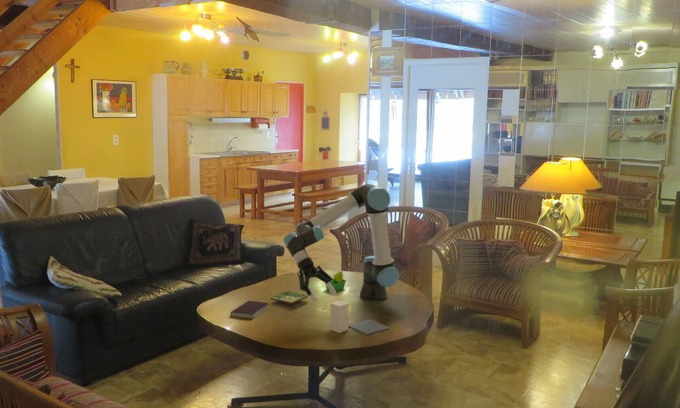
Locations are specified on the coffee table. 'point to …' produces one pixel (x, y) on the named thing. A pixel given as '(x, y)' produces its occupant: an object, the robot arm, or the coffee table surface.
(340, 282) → the fruit basket
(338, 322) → the cream block
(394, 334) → the coffee table surface
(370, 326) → the slate mat
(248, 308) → the book
